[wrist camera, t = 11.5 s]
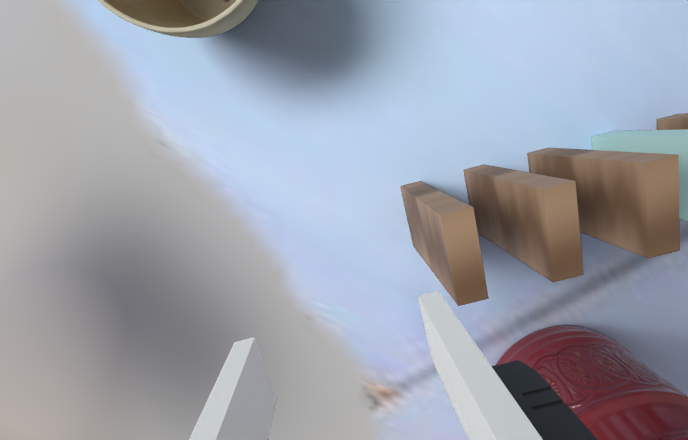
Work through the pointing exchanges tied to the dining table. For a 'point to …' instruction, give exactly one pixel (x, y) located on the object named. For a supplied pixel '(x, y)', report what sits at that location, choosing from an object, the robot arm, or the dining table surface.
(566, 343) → the canister
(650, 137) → the domino
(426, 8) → the dining table surface
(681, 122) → the domino
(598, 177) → the domino
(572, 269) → the domino
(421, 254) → the domino
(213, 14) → the flower pot
